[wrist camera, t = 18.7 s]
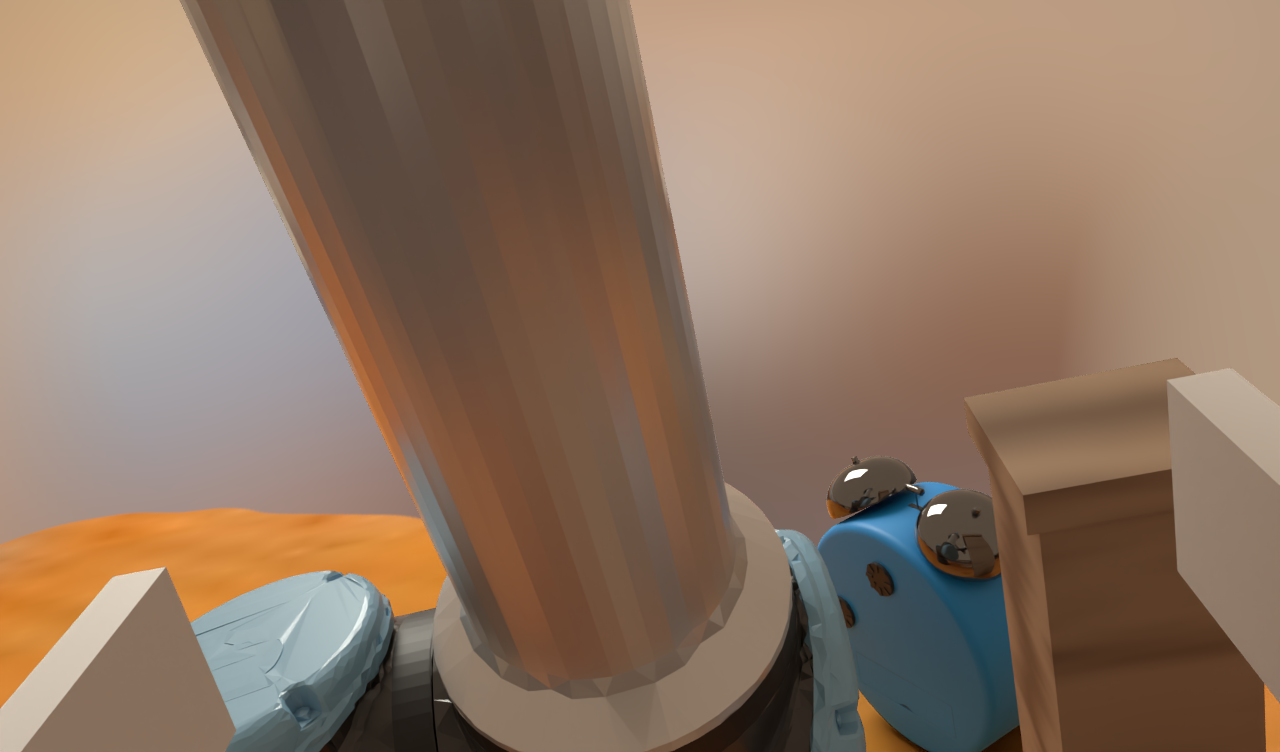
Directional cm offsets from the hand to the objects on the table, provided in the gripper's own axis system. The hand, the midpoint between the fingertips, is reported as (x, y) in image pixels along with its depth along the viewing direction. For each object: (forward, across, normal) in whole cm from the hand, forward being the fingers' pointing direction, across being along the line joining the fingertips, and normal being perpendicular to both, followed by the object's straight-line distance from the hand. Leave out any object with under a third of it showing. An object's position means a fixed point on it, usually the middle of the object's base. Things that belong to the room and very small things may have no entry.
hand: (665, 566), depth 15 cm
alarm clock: (+38, +8, -35) cm, 52 cm away
